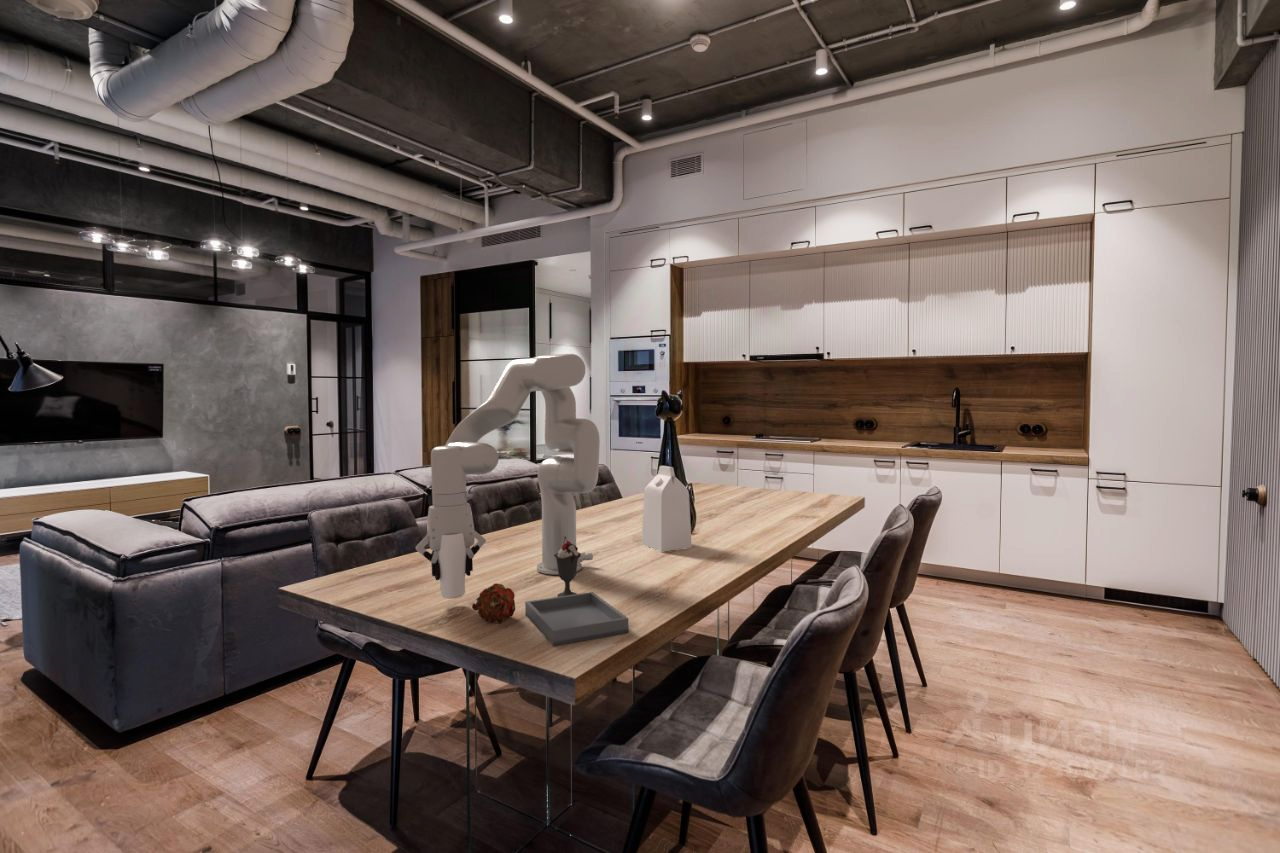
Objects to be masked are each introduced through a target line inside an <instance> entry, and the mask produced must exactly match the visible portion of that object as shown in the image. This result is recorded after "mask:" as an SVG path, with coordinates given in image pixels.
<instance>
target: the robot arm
mask: <svg viewBox="0 0 1280 853" xmlns="http://www.w3.org/2000/svg"><path fill="white" fill-rule="evenodd" d="M585 375H586V364H585V362H584V360H583V359H582V358H581V356H579V355H577V354H574V353H565V354H564V353H563V354H561V353H560V354H542V355H537V356H534V357H527V358H525V357H523V358H517V359H516V358H515V359H513V360H511V361H510V362H509V363H507V365H506V366H505V368H504V370H503V371H502V373H501V375H500V376H499V378H498V379H497V382H496V383H495V385H494V387H493V388H492V390H491V392H490V393H489V395H488V397H487V399H486V400H485V401H484V402H483V403H482V404H481V405H479V406H478V407H477V408H476V409H474V410H473V411H472V412H470V414H468V415H467V416H466V417H465V418H463V419H462V420H461V421H460V422H459V423H458V424H457V425H456V427H455V428H454V429H453V431H452V433H451V434H450V436H449V438H448V439H447V441H446V443H445V445H439V446H436V447H433V448H432V449H431V452H430V468H431V470H430V471H431V495H432V496H431V497H432V498H431V499H432V505H430V506H429V507H428V511H427V512H428V514H427V524H426V527H427V528H426V529H427V530H426V535H425V536H424V537H423V538H422V540H420V541H419V543H417V545H416V546H415V550H416V551H417V553H419V554H420V555H422V556H423V557H424V558H425V559H427V560H428V561H429V562H430V563H431V576H432V577H434V578H435V581H440V572H439V563H438V560H437V559H438V557H439V553H438V551H439V550H440V548H441V539H442V535H454V534H459V533H463V537H464V543H465V547H466V570H465V576H468V577H470V576H471V575H472V574H471V572H473V571H474V570H473V569H474V567H473V564H474V563H473V559H474V558H475V556H476V554H477V553H478V552H479V550H480V549H481V548H482V547H483V546H484V544H485V543H486V542H487V541H486V538H485V537H484V536H482V535H481V534H480V533H478V532H477V531H476V530H475V527H474V521H473V519H474V518H473V512H472V508H471V505H470V503H469V502H468V501H469V500H470V499H474V494H473V492H468V490H467V476H468V475H486V474H489V473H490V472H492V471H494V470H495V468H496V467H497V465H498V464H499V452H498V451H497V449H496V448H495V447H494V446H492V445H491V444H489V443H485V442H480V440H481V439H483V437H485V435H487V434H489V433H491V432H492V431H495V430H497V429H500V428H502V427H505V426H507V425H509V424H511V423H512V422H514V421H515V420H516V419H517V417H518V415H519V414H520V412H521V410H522V407H523V406H524V404H525V402H527V399H528V397H529V395H530V394H531V393H532V392H541V394H542V396H543V399H544V403H545V407H544V408H545V414H544V415H545V416H544V417H545V420H544V443H545V446H546V447H547V449H549V451H552V452H556V453H557V452H558V453H569V454H570V453H571V454H573V457H568V456H552V457H548V458H545V459H543V460H542V462H541V463H540V464H539V467H538V469H537V481H538V486H539V491H540V497H541V498H540V499H541V543H542V544H541V545H542V546H541V552H542V553H541V555H542V556H541V557H542V560H541V561H542V562H540V563H538V564H537V566H536V570H537V572H538V573H541V574H545V575H558V576H559V573H558V566H557V560H556V557H555V556H553V555H555V554H557V553H558V552H559V551H560V549H561V548H562V545H563V544H566V542H567V541H569V542H571V544H573V545H575V546H576V547H577V506H576V501H575V499H574V496H573V494H574V493H575V494H589V493H590V492H592V491H594V489H595V488H596V486H597V483H598V479H599V467H600V462H599V461H600V432H599V429H598V427H597V425H596V424H595V422H593V421H592V420H591V419H587V418H577V404H576V403H577V402H576V397H575V394H574V392H573V391H572V388H571V387H574V386H577V385H579V384H580V383H581V382H582V381H583V380H584V378H585ZM572 493H573V494H572ZM565 536H566V539H565V538H564V537H565ZM475 539H476V541H477V542H476V543H475ZM564 539H565V542H564ZM566 540H567V541H566ZM426 546H427V547H429V549H430V550H431V552H429V551H428V550H427V549H426V548H425V547H426ZM580 553H581V556H580V557H579V558H578V562H577V570H576V573H578V572H580V571H581V570H582V569H583V564H582V562H583V561H593V559H594V556H593V553H592V552H590V553H588V552H587V553H585V552H580Z"/></svg>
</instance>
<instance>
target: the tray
mask: <svg viewBox="0 0 1280 853" xmlns="http://www.w3.org/2000/svg"><path fill="white" fill-rule="evenodd" d="M524 605H525V606H524V607H525V613H524V614H525V616H526V617H527V618H528V619H529V621H530V622H531V623H532V624H533V625H534V626H535V628H537V630H538V631H539V632H540V633H541V634H542V635H543V636H544V637H545V638H546V640H547V641H548V642H549V643H550V644H551V645H552V646H553V647H557V646H562V645H567V644H574V643H578V642H579V643H580V642H585V641H591V640H595V639H600V638H607V636H608V637H613V636H617V634H619V635H624V634H628V632H629V629H630V628H629V624H630V623H629V618H628V617H627V616H626V615H625V614H623V613H622V612H620V611H619V610H618V609H616V607H614V606H612V605H611V604H610V603H608V602H607V601H606V600H604V598H601V597H600V596H599V595H597V594H596V593H595V592H594V591H588V592H583V593H582V592H581V593H577V594H575V595H568V596H561V597H558V596H555V597H554V596H553V597H547V598H541V599H535V600H527V601H525V602H524ZM623 633H624V634H623ZM612 635H613V636H612Z"/></svg>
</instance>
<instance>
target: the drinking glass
mask: <svg viewBox="0 0 1280 853" xmlns="http://www.w3.org/2000/svg"><path fill="white" fill-rule="evenodd" d="M438 553H439V557H438V559H437V560H438V563H439V572H440V579H439V583H440V595H441V597H442V598H443V599H448V600H449V599H458V598H461V597H463V596H464V595H465V593H466V573H465V570H466V547H465V543H464V537H463V533H459V534H454V535H442V539H441V548H440V550H439V551H438Z"/></svg>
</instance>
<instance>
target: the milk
mask: <svg viewBox="0 0 1280 853" xmlns="http://www.w3.org/2000/svg"><path fill="white" fill-rule="evenodd" d="M674 469H675V468H674V467H673V466H667V465H659V467H658V472H657V474H656V475H655V476H654V478H652V480H650V481H649V483H647V485H646V486H645V488H644V491H643V492H644V493H643V512H642V513H643V515H642V533H641V535H642V537H641V545H642V544H643V545H645V546H644V547H646V546H648V547H650V548H649V549H651V548H653V549H655V550H654V551H656V550H658V551H660V552H659V553H661V552H662V553H664V552H663V551H669V552H671V551H670V550H676V551H678V550H677V549H683V548H690V547H692V548H693V546H692V527H691V509H690V508H691V507H690V494H689V493H690V492H689V490H688V487H686V486H685V485H684V484H683V483H682V481H680V480H679V479H678V478H677V477H676V474H675V470H674ZM643 545H642V546H643ZM648 547H647V548H648ZM653 549H652V550H653ZM690 549H691V548H690ZM683 550H684V549H683ZM658 551H657V552H658Z"/></svg>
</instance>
